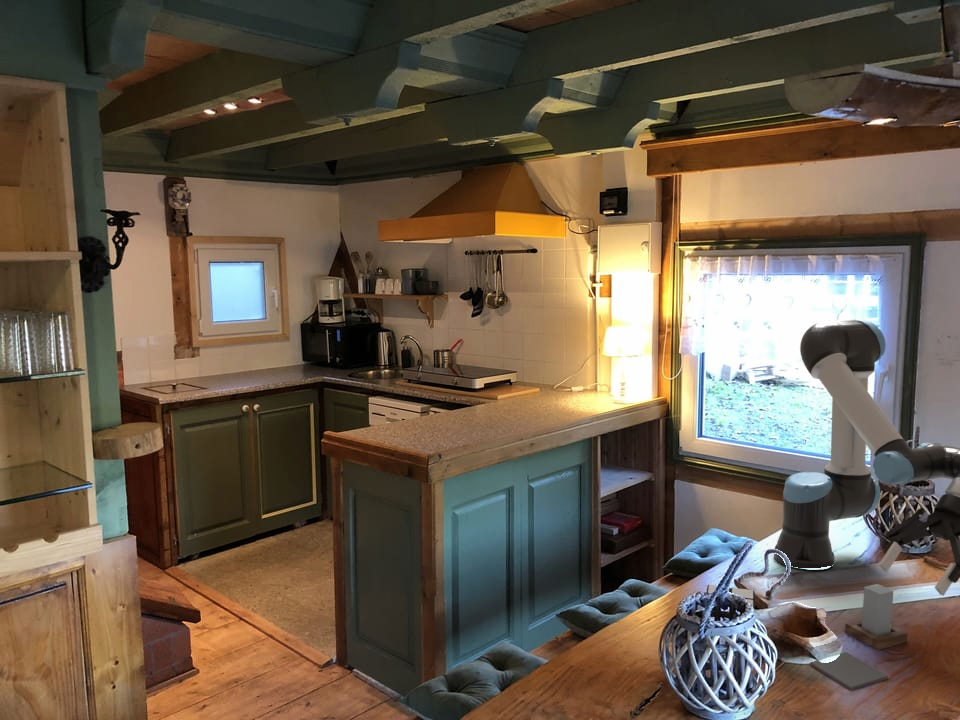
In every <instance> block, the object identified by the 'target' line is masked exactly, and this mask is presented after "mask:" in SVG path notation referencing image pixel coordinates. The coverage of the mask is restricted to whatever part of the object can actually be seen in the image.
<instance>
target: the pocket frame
mask: <svg viewBox="0 0 960 720" xmlns="http://www.w3.org/2000/svg"><path fill="white" fill-rule="evenodd" d="M844 625H845V626H844V633H846V634H848V635H850V636H851V637H854V638H856V639H858V640H860V642H863V643H864V644H867V645H868V646H871V647H872V648H873V649H876V650H878V651H879V650H882V649H883V650H884V649H887V648H889V647H893V646H897V645H900V644H904V643H907V641H908V635H909V632H907V631H904V630H903V629H901V628H899V627H896V626H895V625H892V624H891V633H888V634H885V635H881V636H876V635H874V634H872V633H871V632H869V631H867V630H865V629H863V628H862V618H860V619H855V620H853V621H848V622H845V624H844Z"/></svg>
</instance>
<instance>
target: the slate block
mask: <svg viewBox="0 0 960 720" xmlns="http://www.w3.org/2000/svg"><path fill="white" fill-rule="evenodd" d="M862 599H863V603H862V615H861V616H862V617H861V619H862V628H863V629H865V630H867V631H869V632H871V633H872V634H874V635H876V636H881V635H885V634H888V633H891V625H892V619H893V618H892V617H893V616H892V615H893V605H894V590H892V589H890V588H888V587H886V586H884V585H881V584H879V583H875V584H871V585H866V586H863V598H862Z"/></svg>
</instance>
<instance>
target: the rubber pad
mask: <svg viewBox="0 0 960 720" xmlns="http://www.w3.org/2000/svg"><path fill="white" fill-rule="evenodd" d="M839 654H840V656H839V657H838V658H837V659H836V660H834V661H832V662H829V663H821V662H818V661H816V660H813V661H814V662H813V661H810V663H809V665H810V666H811V667H813V668H814V669H816V670H818V671H819V672H821V673H823V674H824V675H825V676H826V677H827V676H828V678H831V679H832V680H833V681H835V682H837V683H839V684H840V685H842V686H844V688H847V689H848V690H850V691H853V690H855V689H859V688H861V687H866V686H868V685H872V684H876V683H878V682H881V681H884V680H887V679H889V675H888V674H886V673H884V672H883V671H881V670H879V669H877V668H876V667H874V666H872V665H870V664H869V663H867V662H865V661H863V660H861V659H860V658H858V657H856V656H855V655H853V654H851V653H849V652H847V651H845V652H841V653H839ZM852 689H853V690H852Z"/></svg>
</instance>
